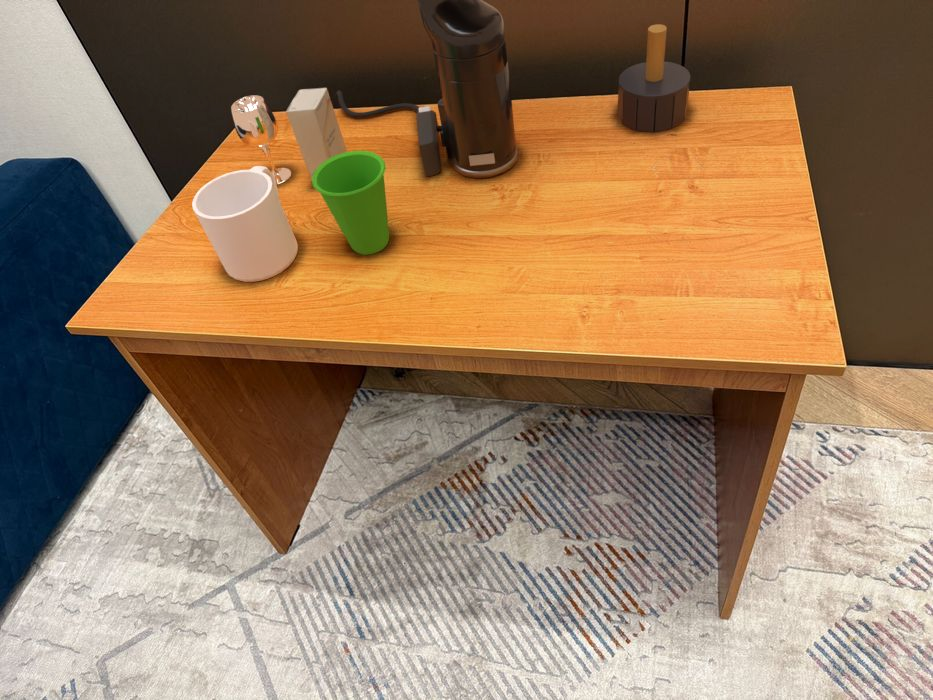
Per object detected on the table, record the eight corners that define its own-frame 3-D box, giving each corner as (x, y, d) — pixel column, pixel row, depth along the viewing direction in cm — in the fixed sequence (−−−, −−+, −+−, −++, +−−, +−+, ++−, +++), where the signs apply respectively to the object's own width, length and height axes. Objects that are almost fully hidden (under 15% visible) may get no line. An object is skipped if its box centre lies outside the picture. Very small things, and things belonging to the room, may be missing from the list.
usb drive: (418, 145, 96) (438, 141, 96) (415, 102, 104) (433, 99, 104) (425, 177, 100) (444, 174, 100) (421, 133, 108) (439, 130, 108)
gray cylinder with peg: (629, 137, 99) (632, 51, 90) (609, 104, 105) (610, 20, 96) (696, 124, 99) (707, 36, 90) (673, 91, 105) (680, 6, 96)
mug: (277, 286, 88) (247, 222, 81) (211, 278, 91) (176, 216, 83) (319, 224, 96) (295, 159, 88) (256, 219, 99) (228, 156, 91)
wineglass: (251, 185, 105) (219, 113, 96) (271, 164, 108) (242, 92, 99) (282, 190, 103) (252, 116, 94) (302, 167, 106) (275, 94, 97)
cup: (414, 224, 93) (396, 152, 85) (387, 269, 87) (366, 197, 79) (354, 217, 96) (331, 147, 87) (325, 261, 90) (298, 191, 82)
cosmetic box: (340, 186, 101) (315, 110, 92) (312, 187, 102) (284, 112, 93) (351, 161, 105) (328, 86, 96) (324, 163, 106) (298, 88, 97)
